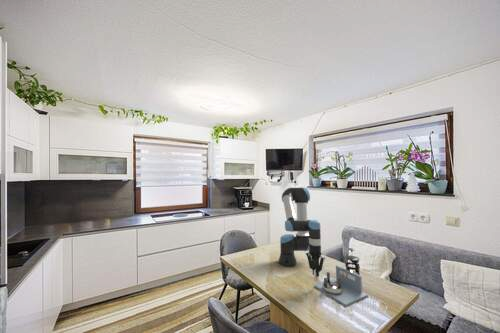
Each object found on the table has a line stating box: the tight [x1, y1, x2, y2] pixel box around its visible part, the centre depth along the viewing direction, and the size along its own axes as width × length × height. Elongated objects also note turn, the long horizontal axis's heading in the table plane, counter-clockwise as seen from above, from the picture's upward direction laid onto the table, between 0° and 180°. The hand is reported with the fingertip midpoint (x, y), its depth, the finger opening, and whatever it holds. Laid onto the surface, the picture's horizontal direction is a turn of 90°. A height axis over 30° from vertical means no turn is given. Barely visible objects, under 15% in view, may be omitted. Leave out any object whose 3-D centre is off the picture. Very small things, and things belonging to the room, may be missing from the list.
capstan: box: [323, 271, 343, 295], centre depth 128 cm, size 12×12×8 cm
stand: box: [313, 264, 369, 307], centre depth 128 cm, size 24×20×11 cm
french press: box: [344, 248, 361, 276], centre depth 139 cm, size 12×9×23 cm
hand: (316, 280), depth 131 cm, fingers closed
